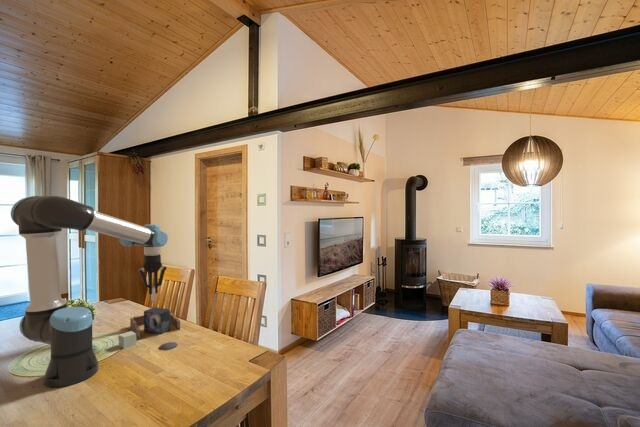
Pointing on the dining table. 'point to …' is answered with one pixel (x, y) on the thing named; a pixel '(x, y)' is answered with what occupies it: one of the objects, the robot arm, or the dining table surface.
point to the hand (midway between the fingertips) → (153, 300)
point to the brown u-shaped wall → (139, 320)
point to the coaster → (168, 346)
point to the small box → (157, 320)
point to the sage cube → (127, 339)
